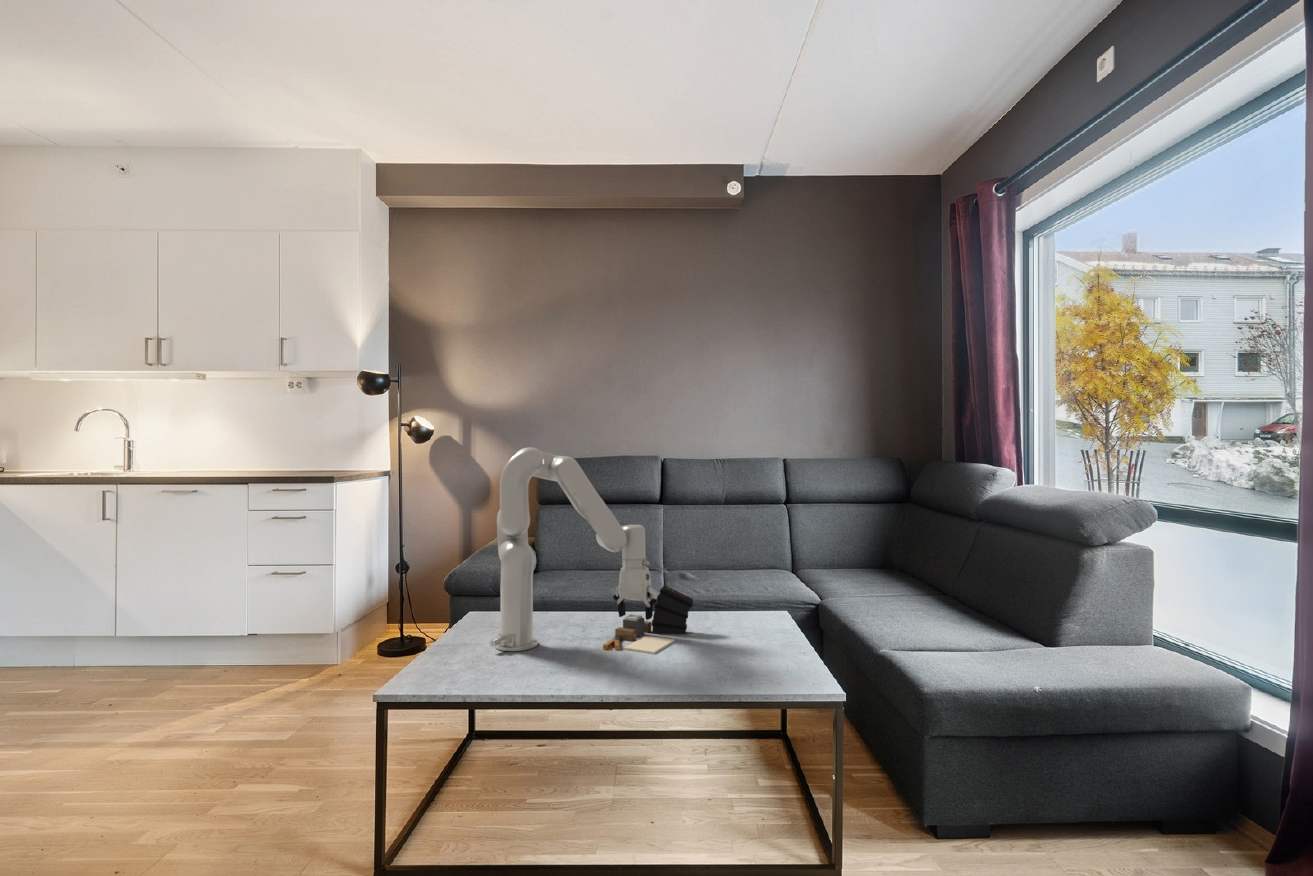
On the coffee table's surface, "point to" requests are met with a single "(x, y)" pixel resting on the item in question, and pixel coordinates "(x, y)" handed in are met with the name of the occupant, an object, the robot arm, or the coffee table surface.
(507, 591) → the robot arm
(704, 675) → the coffee table surface
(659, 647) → the mat
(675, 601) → the black layered block
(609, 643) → the cutter
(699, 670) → the coffee table surface
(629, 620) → the grey box
